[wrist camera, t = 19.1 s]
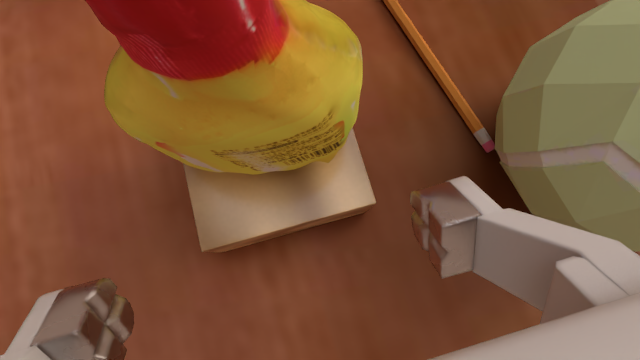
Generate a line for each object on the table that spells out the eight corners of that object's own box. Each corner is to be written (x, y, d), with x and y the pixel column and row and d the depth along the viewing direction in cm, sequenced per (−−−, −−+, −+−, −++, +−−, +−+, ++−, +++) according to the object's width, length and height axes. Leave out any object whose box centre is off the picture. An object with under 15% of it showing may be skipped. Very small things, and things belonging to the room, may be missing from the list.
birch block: (221, 252, 28) (200, 252, 23) (191, 115, 30) (167, 87, 25) (366, 212, 28) (376, 203, 24) (325, 81, 31) (327, 48, 26)
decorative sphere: (580, 180, 14) (426, 170, 28) (853, 344, 15) (572, 253, 30) (765, -160, 14) (514, 9, 28) (1019, 41, 15) (656, 101, 30)
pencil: (499, 146, 29) (381, -25, 33) (495, 148, 28) (375, -27, 32) (489, 152, 30) (375, -16, 33) (484, 154, 29) (368, -18, 32)
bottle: (181, 198, 23) (-495, -93, 4) (175, 110, 25) (-353, -438, 5) (356, 172, 24) (541, -198, 4) (341, 87, 25) (430, -486, 6)
